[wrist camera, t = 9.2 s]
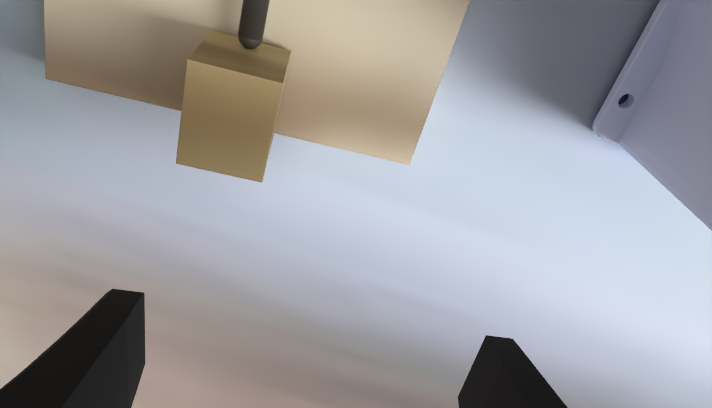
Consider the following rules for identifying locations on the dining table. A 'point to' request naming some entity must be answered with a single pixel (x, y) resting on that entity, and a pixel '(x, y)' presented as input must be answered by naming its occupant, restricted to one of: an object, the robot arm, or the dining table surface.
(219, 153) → the block with dark rod
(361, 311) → the dining table surface
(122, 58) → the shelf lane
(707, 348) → the dining table surface
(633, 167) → the dining table surface
